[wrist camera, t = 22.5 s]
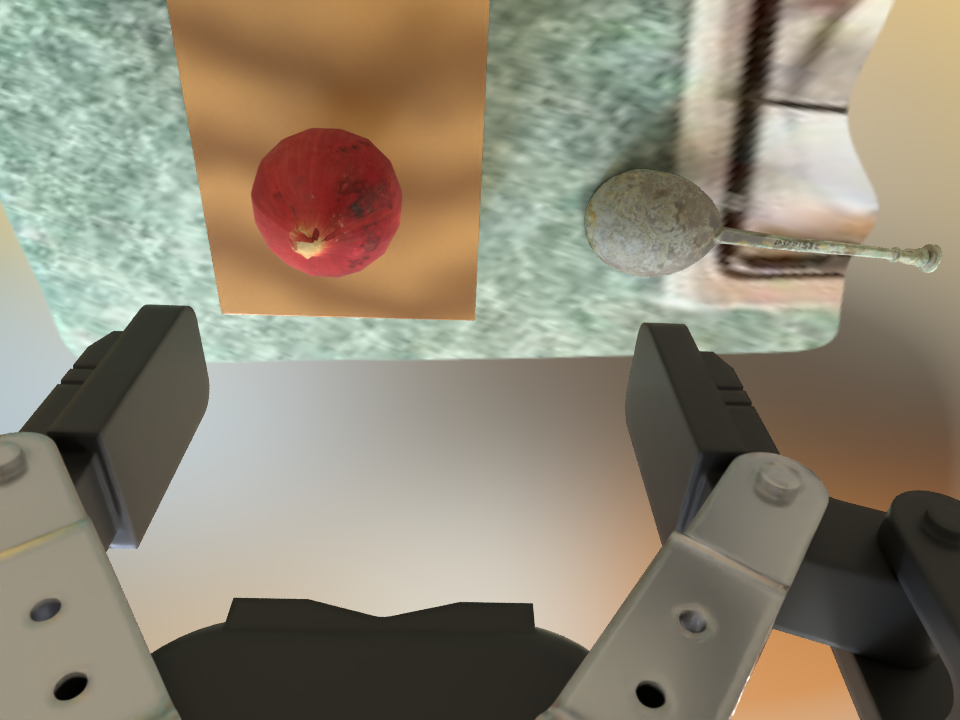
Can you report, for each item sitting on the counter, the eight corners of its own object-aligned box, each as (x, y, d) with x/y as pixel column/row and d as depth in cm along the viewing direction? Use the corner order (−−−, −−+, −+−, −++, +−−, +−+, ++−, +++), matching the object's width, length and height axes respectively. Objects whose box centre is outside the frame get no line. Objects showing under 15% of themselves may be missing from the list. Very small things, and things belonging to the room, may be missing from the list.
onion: (376, 86, 30) (352, 142, 23) (426, 211, 33) (417, 292, 26) (251, 132, 31) (192, 199, 24) (310, 249, 34) (273, 338, 27)
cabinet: (230, -37, 35) (162, -17, 27) (483, -25, 36) (489, -2, 28) (265, 237, 43) (221, 314, 35) (472, 243, 44) (474, 321, 36)
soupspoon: (598, 150, 42) (573, 250, 45) (605, 171, 39) (577, 276, 43) (953, 206, 43) (900, 299, 47) (984, 230, 40) (925, 326, 44)
